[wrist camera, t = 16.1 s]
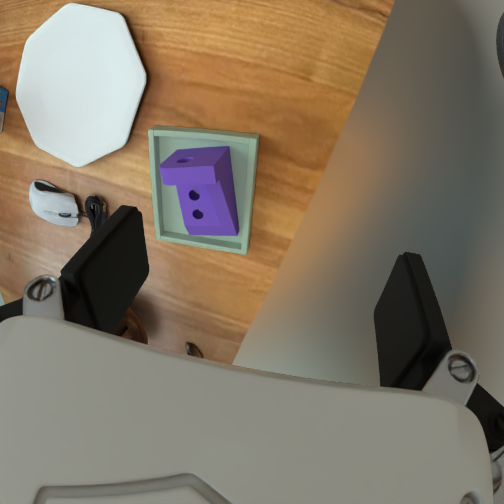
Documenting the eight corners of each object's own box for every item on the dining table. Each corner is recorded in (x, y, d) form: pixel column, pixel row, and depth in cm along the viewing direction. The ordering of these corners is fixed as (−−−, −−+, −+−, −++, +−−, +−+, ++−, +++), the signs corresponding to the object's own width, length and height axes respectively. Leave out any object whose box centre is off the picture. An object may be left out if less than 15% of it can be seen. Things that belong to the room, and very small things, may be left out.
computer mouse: (31, 167, 44) (16, 177, 41) (111, 197, 45) (98, 209, 42) (34, 213, 50) (21, 224, 47) (109, 245, 51) (97, 259, 48)
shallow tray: (259, 134, 36) (256, 138, 35) (248, 247, 46) (246, 255, 45) (154, 125, 38) (147, 129, 36) (161, 232, 47) (155, 239, 46)
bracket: (177, 149, 39) (154, 169, 33) (229, 145, 37) (213, 165, 32) (192, 229, 45) (175, 257, 40) (239, 229, 44) (227, 260, 39)
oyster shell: (195, 335, 68) (200, 375, 69) (179, 337, 66) (184, 378, 67) (204, 342, 63) (208, 386, 63) (186, 345, 61) (192, 389, 62)
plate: (16, 130, 40) (10, 133, 39) (44, -3, 26) (37, -2, 25) (119, 183, 43) (114, 187, 42) (173, 27, 30) (168, 27, 28)
